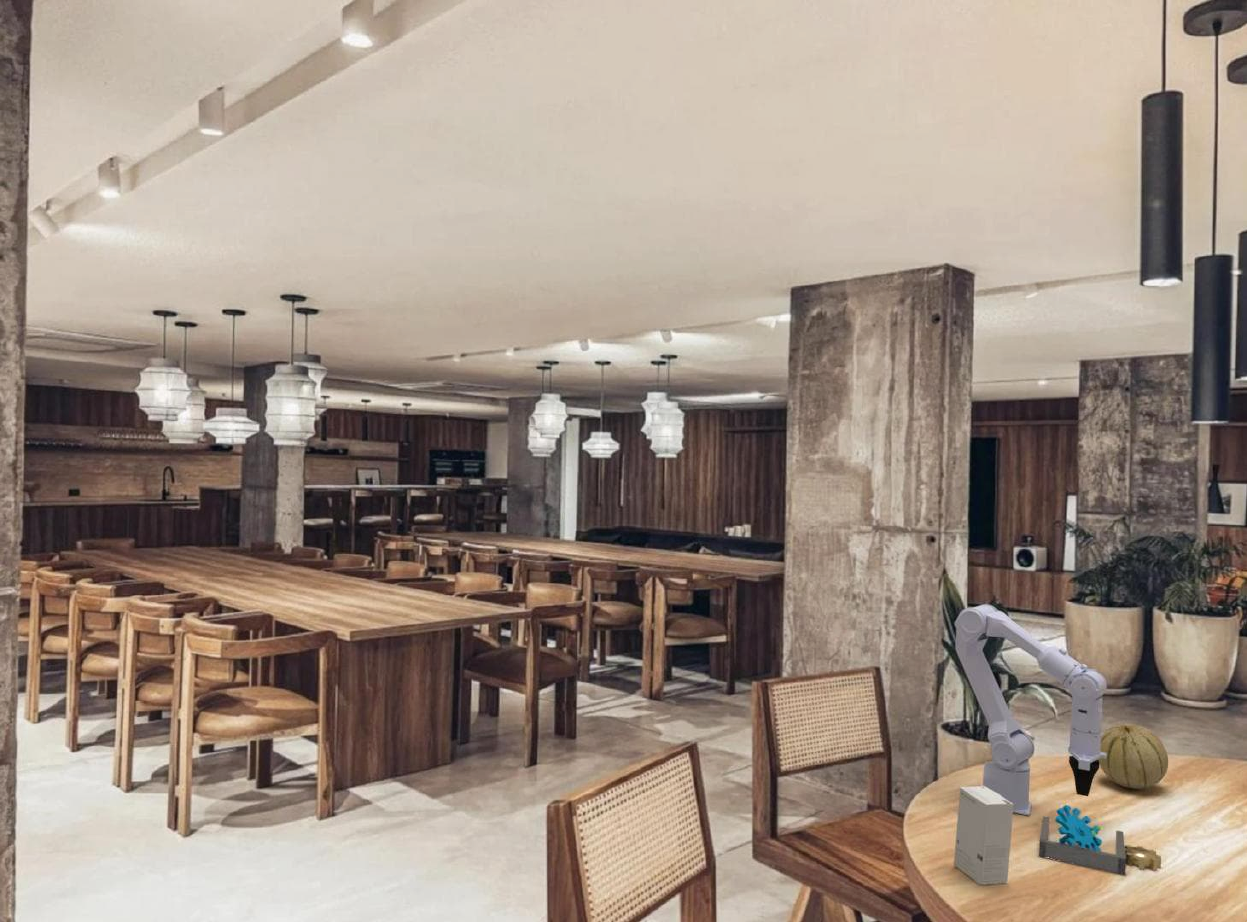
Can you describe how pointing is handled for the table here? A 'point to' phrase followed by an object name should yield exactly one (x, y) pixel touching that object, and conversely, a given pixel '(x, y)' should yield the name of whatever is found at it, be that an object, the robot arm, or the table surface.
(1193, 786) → the table surface
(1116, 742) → the cantaloupe
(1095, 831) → the gear
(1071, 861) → the bracket
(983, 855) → the skincare box
